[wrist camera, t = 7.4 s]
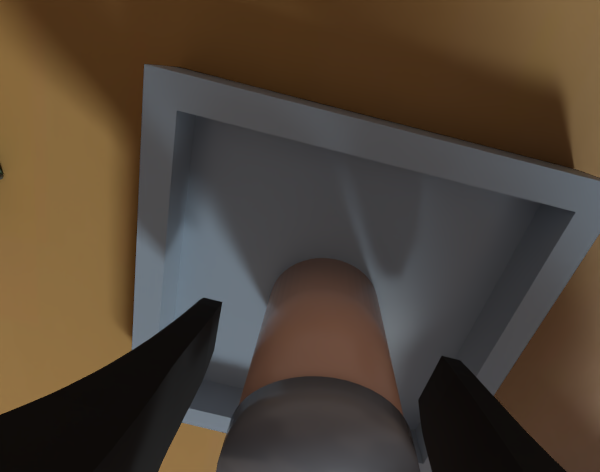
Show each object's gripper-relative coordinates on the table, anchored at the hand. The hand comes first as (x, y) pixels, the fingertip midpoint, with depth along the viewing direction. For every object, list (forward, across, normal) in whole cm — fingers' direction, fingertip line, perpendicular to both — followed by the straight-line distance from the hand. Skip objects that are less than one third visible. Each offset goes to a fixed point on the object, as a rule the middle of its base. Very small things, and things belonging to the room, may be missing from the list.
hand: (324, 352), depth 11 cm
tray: (+4, 0, 0) cm, 4 cm away
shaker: (+3, 0, 0) cm, 3 cm away
